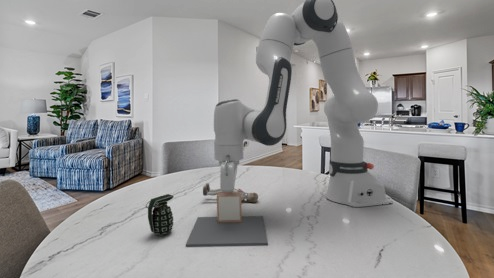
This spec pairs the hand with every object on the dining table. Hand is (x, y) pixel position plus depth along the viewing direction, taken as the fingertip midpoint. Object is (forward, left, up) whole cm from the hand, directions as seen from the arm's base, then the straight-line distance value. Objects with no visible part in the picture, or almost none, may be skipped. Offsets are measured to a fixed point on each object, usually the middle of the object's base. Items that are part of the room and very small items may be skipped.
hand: (229, 197), depth 78 cm
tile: (0, +4, -6) cm, 7 cm away
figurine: (0, -13, -6) cm, 15 cm away
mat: (0, +9, -6) cm, 11 cm away
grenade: (+18, +10, -6) cm, 22 cm away
